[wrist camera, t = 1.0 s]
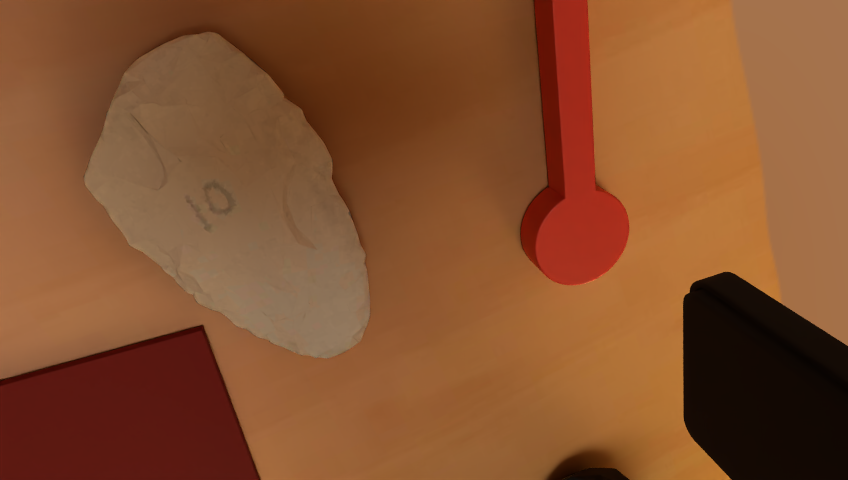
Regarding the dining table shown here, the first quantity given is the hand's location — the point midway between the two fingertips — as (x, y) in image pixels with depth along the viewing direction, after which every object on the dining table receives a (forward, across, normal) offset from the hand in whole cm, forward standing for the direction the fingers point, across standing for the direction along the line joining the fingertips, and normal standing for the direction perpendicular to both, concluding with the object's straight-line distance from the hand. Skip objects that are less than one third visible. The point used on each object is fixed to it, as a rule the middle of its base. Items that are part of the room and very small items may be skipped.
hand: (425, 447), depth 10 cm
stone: (+16, +3, +2) cm, 17 cm away
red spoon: (+16, -10, +1) cm, 19 cm away
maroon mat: (+16, +11, +14) cm, 25 cm away
